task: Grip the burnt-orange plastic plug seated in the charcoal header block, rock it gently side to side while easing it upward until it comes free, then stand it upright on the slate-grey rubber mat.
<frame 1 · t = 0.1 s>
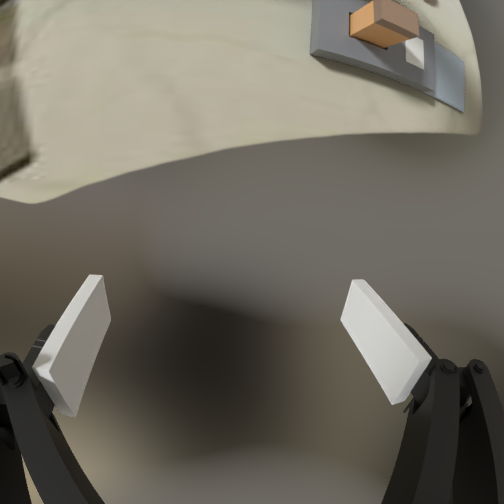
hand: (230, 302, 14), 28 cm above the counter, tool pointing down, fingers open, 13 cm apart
mat: (444, 75, 34), on the counter
plug: (358, 36, 31), resting in header
header: (374, 41, 32), on the counter
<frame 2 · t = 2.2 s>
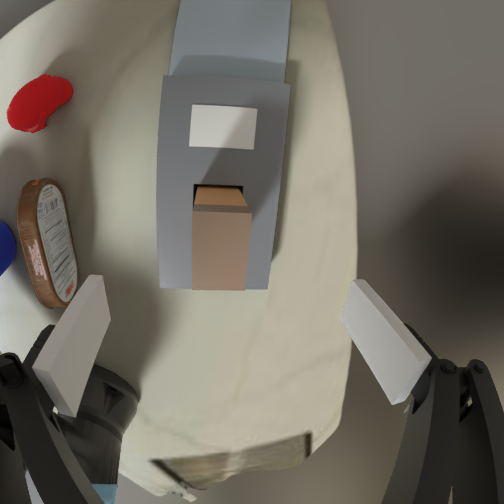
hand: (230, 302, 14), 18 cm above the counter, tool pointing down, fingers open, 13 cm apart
mat: (231, 35, 23), on the counter
cap: (49, 104, 22), on the counter
tin: (65, 231, 29), on the counter
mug: (2, 251, 28), on the counter
plug: (215, 209, 30), resting in header
header: (217, 182, 29), on the counter
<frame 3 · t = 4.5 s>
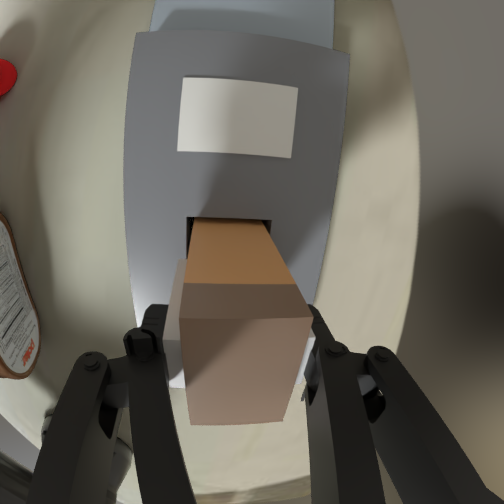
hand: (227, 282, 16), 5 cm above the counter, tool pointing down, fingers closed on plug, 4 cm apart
tin: (19, 273, 18), on the counter
plug: (223, 249, 20), resting in header, touching gripper
header: (226, 208, 19), on the counter
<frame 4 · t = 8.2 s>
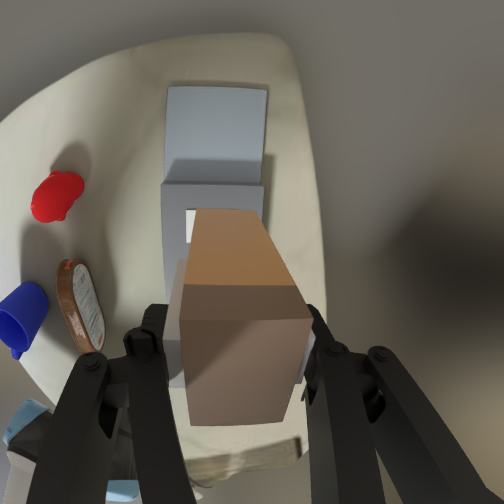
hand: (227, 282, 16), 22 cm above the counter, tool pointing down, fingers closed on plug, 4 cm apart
mat: (214, 133, 32), on the counter
cap: (64, 192, 31), on the counter
tin: (92, 293, 38), on the counter
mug: (35, 304, 37), on the counter
plug: (223, 249, 20), point 17 cm above the counter, touching gripper
header: (210, 260, 38), on the counter
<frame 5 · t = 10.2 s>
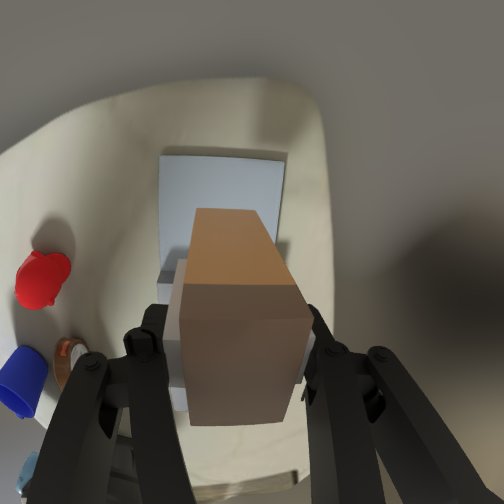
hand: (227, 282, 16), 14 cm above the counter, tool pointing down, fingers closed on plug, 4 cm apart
mat: (218, 215, 28), on the counter
cap: (50, 268, 28), on the counter
tin: (91, 363, 34), on the counter
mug: (34, 364, 33), on the counter
plug: (223, 249, 20), point 9 cm above the counter, touching gripper
header: (214, 343, 35), on the counter
when the fingers open (7 cm above the counter, at t = 12.1 s): plug drops 1 cm, resting on mat.
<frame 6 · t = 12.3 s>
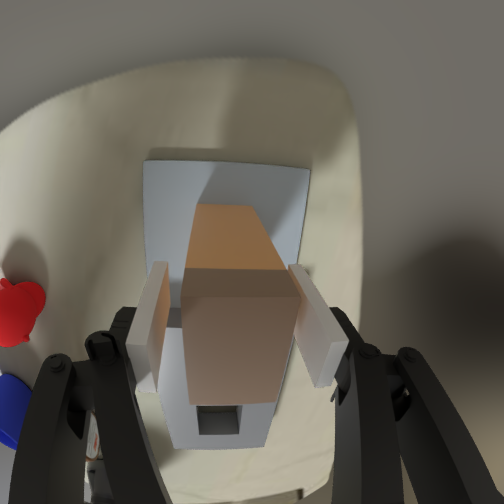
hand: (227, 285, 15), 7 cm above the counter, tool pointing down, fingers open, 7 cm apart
mat: (222, 239, 22), on the counter
cap: (24, 297, 21), on the counter
tin: (79, 396, 28), on the counter
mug: (20, 391, 27), on the counter
plug: (222, 243, 21), point 1 cm above the counter, touching mat
header: (217, 383, 28), on the counter
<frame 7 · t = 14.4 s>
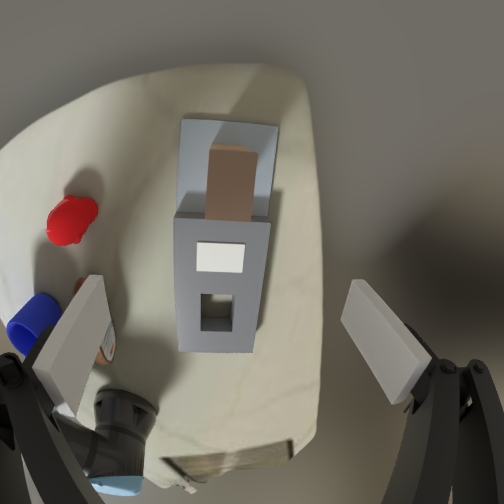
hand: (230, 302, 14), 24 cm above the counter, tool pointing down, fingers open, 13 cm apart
mat: (225, 167, 34), on the counter
cap: (78, 214, 34), on the counter
tin: (104, 307, 41), on the counter
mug: (48, 313, 40), on the counter
plug: (225, 168, 34), point 1 cm above the counter, touching mat
header: (217, 283, 41), on the counter
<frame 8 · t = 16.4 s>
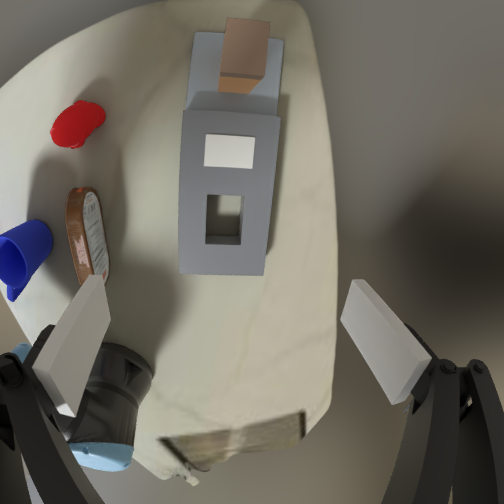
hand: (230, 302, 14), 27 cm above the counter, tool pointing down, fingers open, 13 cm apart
mat: (235, 73, 31), on the counter
cap: (84, 124, 31), on the counter
tin: (99, 229, 38), on the counter
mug: (38, 246, 37), on the counter
plug: (235, 72, 31), point 1 cm above the counter, touching mat
header: (224, 192, 38), on the counter
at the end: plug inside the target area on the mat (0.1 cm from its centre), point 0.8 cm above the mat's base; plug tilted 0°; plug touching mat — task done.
